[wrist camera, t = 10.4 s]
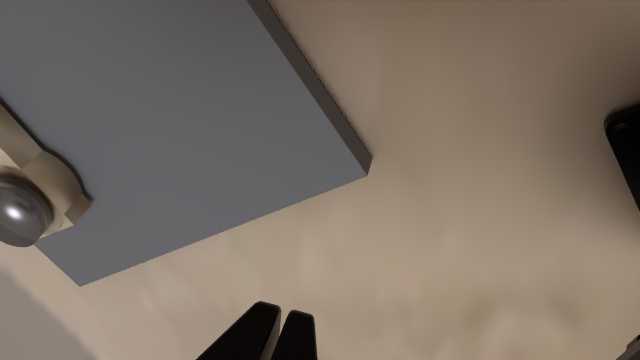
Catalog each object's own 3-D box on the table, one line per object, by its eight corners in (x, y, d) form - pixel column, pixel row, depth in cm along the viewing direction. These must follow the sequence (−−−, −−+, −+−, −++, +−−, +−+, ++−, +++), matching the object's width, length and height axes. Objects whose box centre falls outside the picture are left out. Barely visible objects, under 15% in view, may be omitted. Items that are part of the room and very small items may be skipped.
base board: (372, 158, 23) (367, 175, 22) (91, 271, 33) (79, 286, 32) (-54, -473, 14) (-91, -488, 13) (-266, -66, 24) (-296, -59, 23)
